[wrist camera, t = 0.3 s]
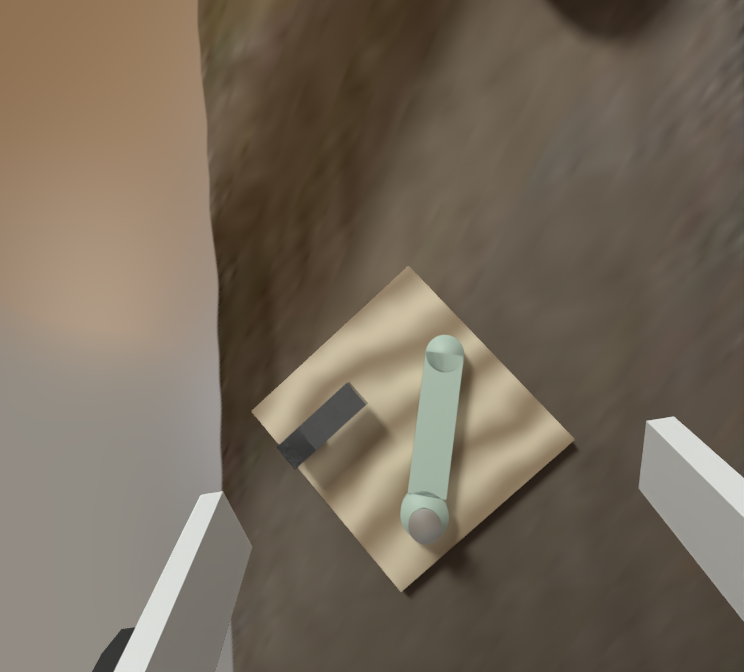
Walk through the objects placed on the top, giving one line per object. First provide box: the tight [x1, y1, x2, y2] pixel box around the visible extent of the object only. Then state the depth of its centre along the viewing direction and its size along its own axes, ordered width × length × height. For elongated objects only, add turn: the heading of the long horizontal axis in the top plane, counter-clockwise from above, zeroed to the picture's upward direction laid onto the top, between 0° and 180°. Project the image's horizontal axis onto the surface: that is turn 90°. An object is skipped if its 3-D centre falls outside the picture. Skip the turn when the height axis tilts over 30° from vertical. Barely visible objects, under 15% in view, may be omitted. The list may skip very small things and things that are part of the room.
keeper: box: [277, 382, 368, 469], centre depth 42 cm, size 3×10×4 cm, turn 132°
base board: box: [252, 266, 575, 592], centre depth 42 cm, size 26×25×7 cm
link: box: [400, 335, 464, 536], centre depth 42 cm, size 22×5×2 cm, turn 172°
